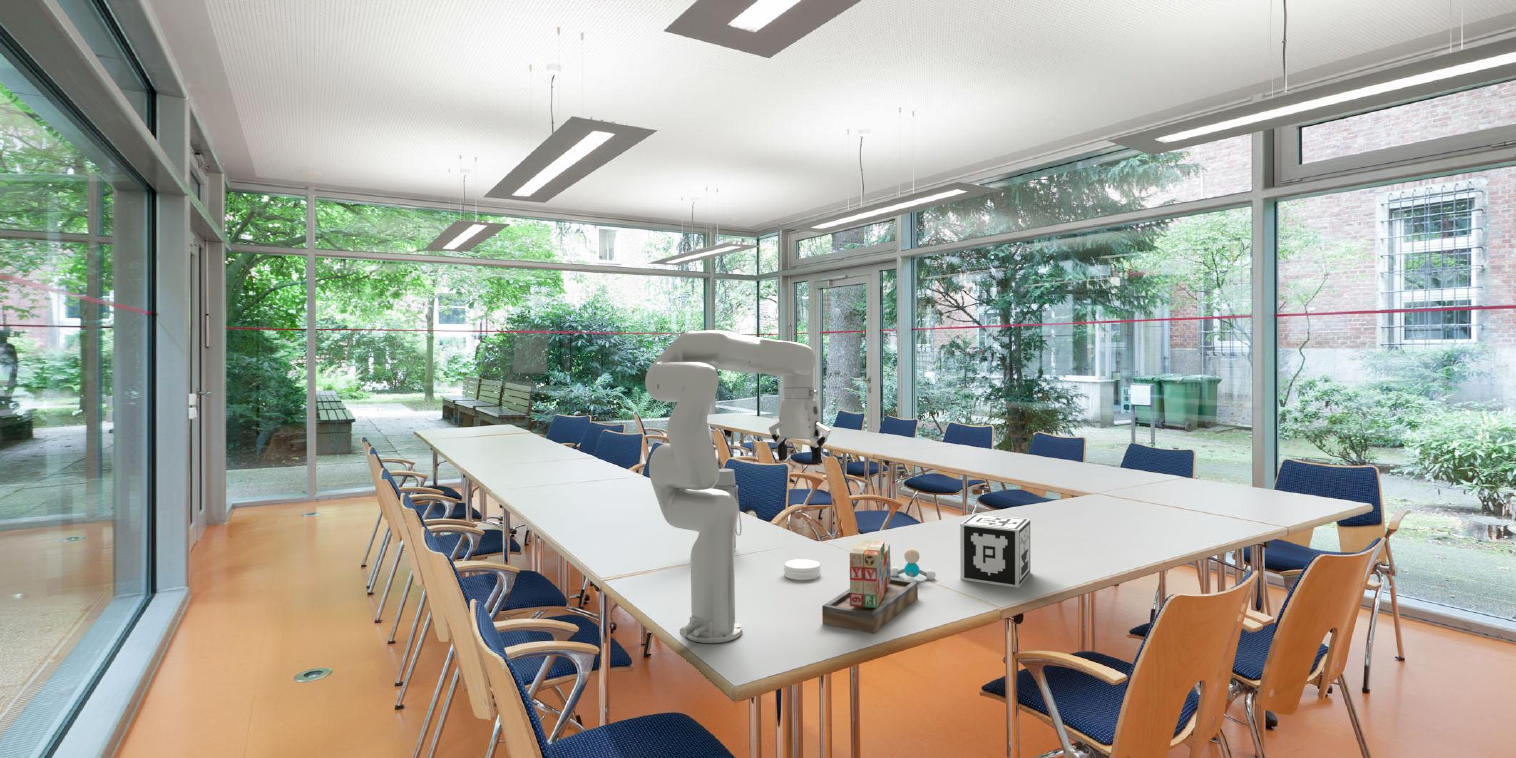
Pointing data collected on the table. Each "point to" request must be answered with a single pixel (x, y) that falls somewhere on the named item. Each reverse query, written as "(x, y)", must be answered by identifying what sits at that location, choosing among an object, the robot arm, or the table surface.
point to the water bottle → (728, 489)
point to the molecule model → (912, 567)
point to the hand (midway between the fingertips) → (799, 461)
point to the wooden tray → (870, 618)
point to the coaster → (802, 569)
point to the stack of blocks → (869, 573)
